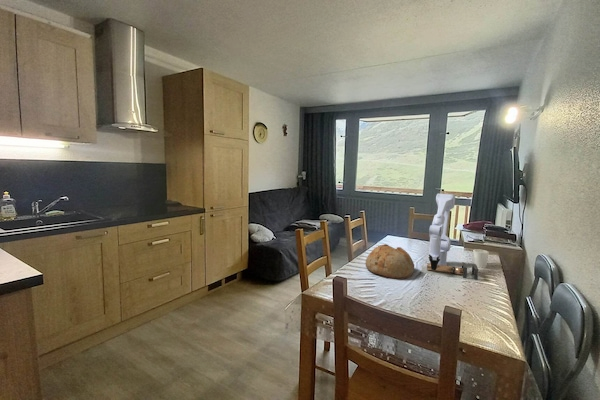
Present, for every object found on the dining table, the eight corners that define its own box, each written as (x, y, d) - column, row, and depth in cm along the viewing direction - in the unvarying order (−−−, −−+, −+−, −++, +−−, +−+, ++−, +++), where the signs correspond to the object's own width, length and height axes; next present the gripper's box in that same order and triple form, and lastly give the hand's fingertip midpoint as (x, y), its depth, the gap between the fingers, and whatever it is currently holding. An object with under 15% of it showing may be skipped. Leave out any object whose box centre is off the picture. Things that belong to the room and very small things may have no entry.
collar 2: (474, 279, 148) (474, 268, 147) (471, 273, 156) (472, 263, 155) (477, 280, 147) (478, 269, 147) (474, 274, 156) (475, 263, 155)
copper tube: (426, 271, 160) (427, 264, 159) (426, 268, 163) (427, 262, 163) (462, 276, 152) (463, 269, 152) (462, 273, 156) (462, 266, 155)
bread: (358, 270, 162) (359, 245, 160) (378, 261, 178) (379, 238, 176) (401, 284, 143) (403, 256, 141) (420, 272, 159) (421, 247, 158)
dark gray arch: (463, 278, 150) (464, 267, 149) (461, 272, 158) (462, 262, 157) (466, 278, 149) (467, 267, 149) (464, 272, 158) (465, 262, 157)
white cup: (489, 269, 164) (491, 253, 163) (474, 268, 166) (476, 252, 164) (483, 265, 172) (485, 249, 170) (469, 264, 173) (471, 248, 172)
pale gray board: (421, 273, 158) (421, 272, 158) (421, 267, 168) (421, 266, 168) (481, 282, 146) (481, 281, 146) (477, 275, 156) (478, 274, 156)
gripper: (443, 250, 150) (441, 274, 152) (442, 243, 163) (440, 265, 165) (429, 248, 153) (427, 271, 155) (429, 241, 166) (427, 263, 168)
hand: (433, 268), depth 160 cm, fingers closed on copper tube, 4 cm apart
